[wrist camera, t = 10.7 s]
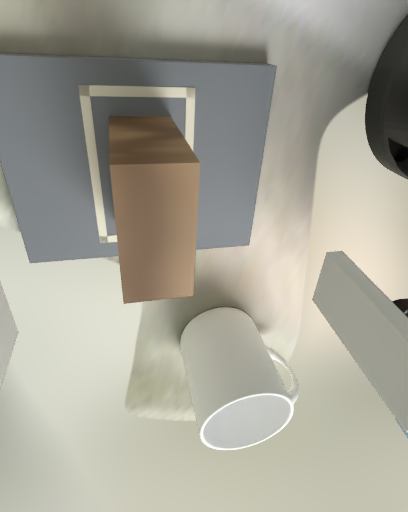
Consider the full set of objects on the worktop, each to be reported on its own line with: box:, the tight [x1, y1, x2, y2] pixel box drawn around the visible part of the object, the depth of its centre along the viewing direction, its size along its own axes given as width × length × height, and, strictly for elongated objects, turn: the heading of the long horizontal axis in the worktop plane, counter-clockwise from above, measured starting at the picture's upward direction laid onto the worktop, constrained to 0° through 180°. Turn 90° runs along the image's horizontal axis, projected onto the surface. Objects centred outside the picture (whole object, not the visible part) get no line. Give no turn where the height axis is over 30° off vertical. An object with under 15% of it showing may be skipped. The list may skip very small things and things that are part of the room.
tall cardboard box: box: [109, 116, 200, 304], centre depth 21 cm, size 4×8×9 cm, turn 176°
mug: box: [180, 307, 299, 450], centre depth 35 cm, size 9×12×11 cm
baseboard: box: [0, 53, 277, 263], centre depth 25 cm, size 18×14×2 cm
